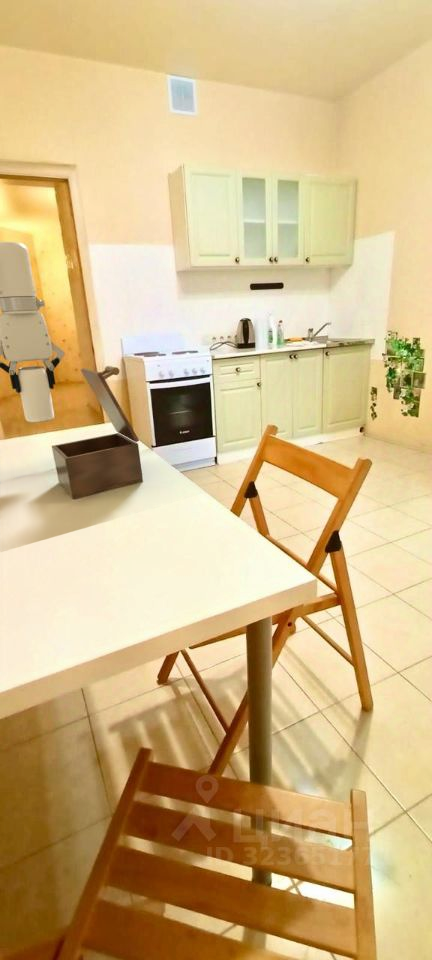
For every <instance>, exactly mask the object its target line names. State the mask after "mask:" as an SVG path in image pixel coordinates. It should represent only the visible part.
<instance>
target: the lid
mask: <svg viewBox="0 0 432 960" xmlns="http://www.w3.org/2000/svg"><path fill="white" fill-rule="evenodd" d="M80 372H81V373H82V375H83V377H84V379H85V380H86V383H88V385H89V387H90V389H91V390H92V392H93V394H94V395H95V397H96V399H97V401H98V402H99V404H100V405H101V408H102V409H103V411H104V412H105V414H106V416H107V418H108V419H109V421H110V422H111V424H112V426H113V428H114V430H115V431H116V433H119V434H121V435H123V436H125V437H127V438H129V439H130V440H132V441H134V442H136V443H138V442H139V441H140V439H139V437H138V436H137V434H136V432H135V430H134V429H133V426H132V425H131V424H130V422H129V420H128V418H127V416H126V414H125V413H124V411H123V409H122V407H121V405H120V403H119V402H118V400H117V398H116V397H115V395H114V393H113V392H112V390H111V388H110V386H109V384H108V383H107V379H108V378H111V377H112V376H118V375H119V374H120V369H119V368H118V367H116V366H113V365H112V366H111V365H106V366H105V368H104V370H103V371H97V370H93V369H89V368H85V367H82V368H81V369H80Z"/></svg>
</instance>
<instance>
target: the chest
mask: <svg viewBox="0 0 432 960" xmlns="http://www.w3.org/2000/svg"><path fill="white" fill-rule="evenodd" d="M51 450H52V455H53V459H54V466H55V469H56V475H57V480H58V483H59V484H60V485H61V487H62V488H63V489H64V490H65V491H66V493H67V494H68V495H69V496H70V498H71V499H72V500H75V499H79V498H84V497H88V496H92V495H96V494H100V493H104V492H107V491H112V490H115V489H119V488H123V487H126V486H131V485H134V484H139V483H142V482H144V479H143V471H142V463H141V455H140V447H139V443H138V442H135V441H133V440H131V439H129V438H127V437H126V436H124V435H122V434H120V433H118V432H116V433H110V434H106V435H100V436H96V437H95V436H94V437H90V438H86V439H80V440H75V441H69V442H65V443H60V444H55V445H51Z"/></svg>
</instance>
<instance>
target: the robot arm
mask: <svg viewBox="0 0 432 960" xmlns="http://www.w3.org/2000/svg"><path fill="white" fill-rule="evenodd" d="M36 292H37V291H36V287H35V281H34V276H33V270H32V263H31V257H30V252H29V249H28V247H27V246H26V245H25V244H23V243H21V242H18V241H0V311H1V314H0V357H1V356H2V358H3V359H4V360H6V361H8V365H7V364H6V363H4V362H3V361H2V360H0V369H1V370H3V371H5V372H6V373H7V374H8V375H9V379H10V384H11V388H12V390H15V392H16V393H17V394H20V392H21V389H20V383H19V378H18V375H17V374H18V373H17V372H16V370H17V366H18V364H19V363H20V362H21V363H22V362H31V361H41V362H42V363H43V365H44V367H45V371H46V373H47V376H48V381H49V387H50V390H54V388H55V387H54V385H56V378H55V373H54V371H55V369H56V368H57V366H58V365H59V364H60V362H61V361H62V359H63V358H64V356H65V355H66V352H65V351H64V350H62V349H61V348H60V347H59V346H57V345H56V344H55V343H54V342H52V341H51V337H50V333H49V330H48V329H49V328H48V325H47V322H46V319H45V317H44V315H43V312H40V308H41V309H42V308H45V305H46V304H45V301H44V300H40V299H39V298H38V297H37V293H36ZM53 352H55V356H54V357H53V354H54V353H53ZM52 357H53V358H52ZM50 358H52V359H51V360H50Z"/></svg>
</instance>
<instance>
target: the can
mask: <svg viewBox="0 0 432 960" xmlns="http://www.w3.org/2000/svg"><path fill="white" fill-rule="evenodd" d="M17 370H18V371H17V373H16V374H17V375H18V378H19V383H20V389H21V392H20V393H19V395H20V399H21V404H22V409H23V414H24V418H25V421H26V422H27V423H30V424H31V423H32V424H34V423H35V424H37V423H45V422H50V421H52V420H54V418H55V411H54V405H53V399H52V393H51V389H50V387H49V381H48V376H47V373H46V369H45V366H43V365H36V366H33V365H32V366H24V367H18V368H17Z"/></svg>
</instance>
